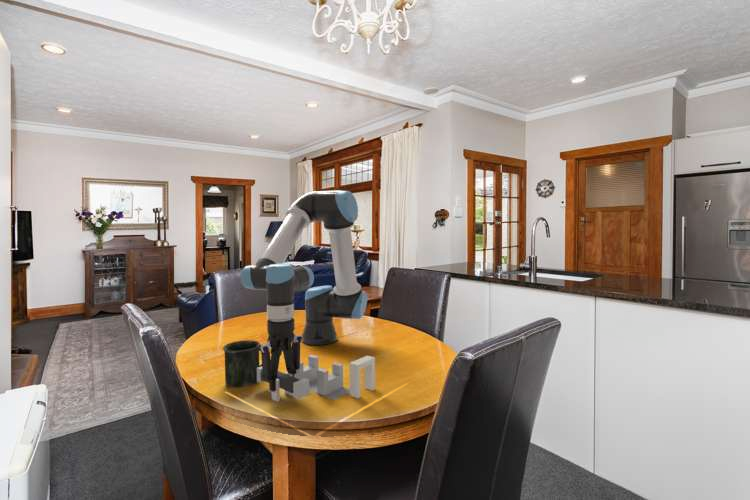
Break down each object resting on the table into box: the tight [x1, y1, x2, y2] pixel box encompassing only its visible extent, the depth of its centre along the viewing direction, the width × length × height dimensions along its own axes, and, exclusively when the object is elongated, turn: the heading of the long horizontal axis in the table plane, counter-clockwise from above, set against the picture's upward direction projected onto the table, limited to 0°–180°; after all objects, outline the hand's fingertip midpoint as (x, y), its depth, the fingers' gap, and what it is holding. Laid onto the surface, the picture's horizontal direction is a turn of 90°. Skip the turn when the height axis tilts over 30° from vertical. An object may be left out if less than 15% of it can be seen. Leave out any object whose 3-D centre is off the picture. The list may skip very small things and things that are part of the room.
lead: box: [256, 366, 310, 400], centre depth 111 cm, size 19×4×4 cm, turn 51°
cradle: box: [294, 354, 350, 401], centre depth 120 cm, size 22×8×8 cm, turn 51°
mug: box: [222, 339, 262, 388], centre depth 124 cm, size 11×15×12 cm
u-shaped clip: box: [349, 355, 376, 399], centre depth 115 cm, size 3×8×10 cm, turn 141°
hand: (282, 397), depth 112 cm, fingers closed on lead, 4 cm apart
